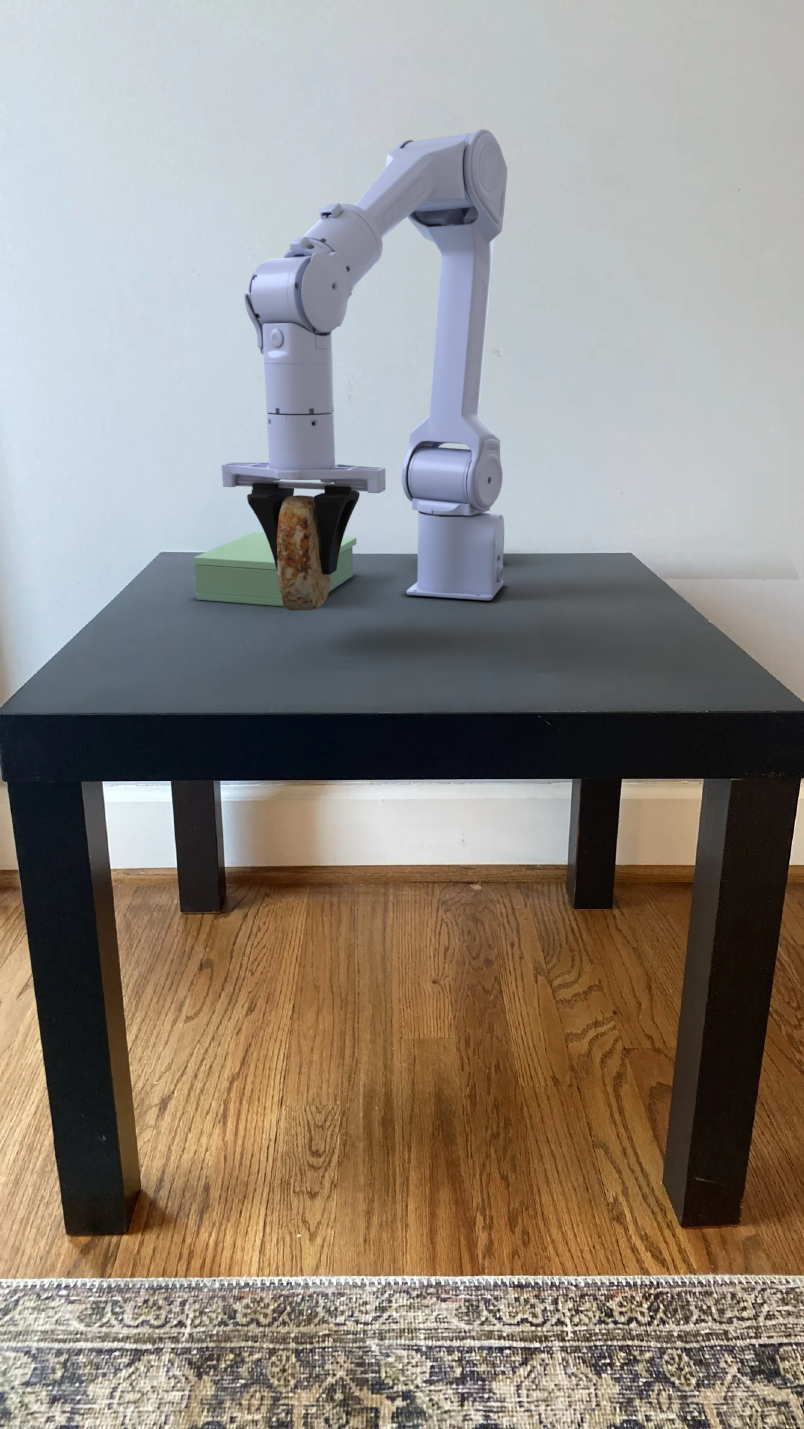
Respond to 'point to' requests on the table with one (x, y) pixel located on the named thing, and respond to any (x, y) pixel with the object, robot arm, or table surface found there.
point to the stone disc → (300, 555)
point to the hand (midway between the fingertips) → (306, 570)
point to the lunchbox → (254, 582)
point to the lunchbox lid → (249, 553)
